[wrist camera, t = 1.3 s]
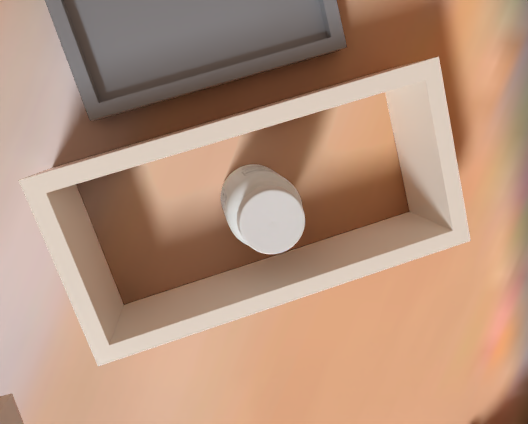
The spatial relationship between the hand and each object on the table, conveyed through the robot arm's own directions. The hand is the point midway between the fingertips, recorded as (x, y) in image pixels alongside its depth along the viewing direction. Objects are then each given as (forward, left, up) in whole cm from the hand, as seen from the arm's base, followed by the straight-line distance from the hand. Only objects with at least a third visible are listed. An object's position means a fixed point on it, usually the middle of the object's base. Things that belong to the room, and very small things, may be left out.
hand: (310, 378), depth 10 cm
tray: (+1, +12, -20) cm, 24 cm away
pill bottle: (+1, 0, -21) cm, 21 cm away
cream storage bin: (+1, 0, -20) cm, 20 cm away
